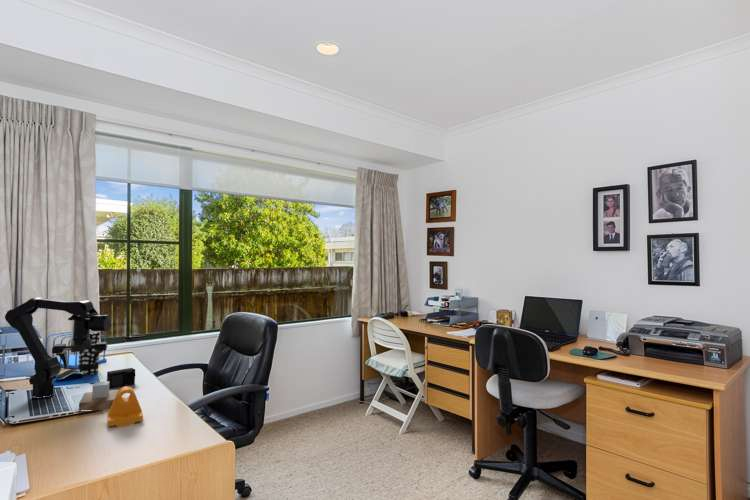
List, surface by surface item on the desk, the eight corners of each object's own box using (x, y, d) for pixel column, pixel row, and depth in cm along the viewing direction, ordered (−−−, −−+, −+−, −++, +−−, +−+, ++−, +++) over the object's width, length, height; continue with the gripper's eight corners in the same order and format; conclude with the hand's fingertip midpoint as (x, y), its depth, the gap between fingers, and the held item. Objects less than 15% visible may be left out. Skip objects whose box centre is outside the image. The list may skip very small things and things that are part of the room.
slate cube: (92, 398, 166) (92, 385, 166) (94, 394, 171) (95, 382, 171) (106, 397, 168) (107, 384, 168) (109, 393, 173) (109, 381, 173)
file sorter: (106, 362, 232) (108, 334, 232) (75, 369, 216) (76, 339, 216) (74, 357, 241) (75, 330, 241) (41, 364, 224) (43, 335, 224)
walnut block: (78, 413, 161) (79, 403, 161) (84, 402, 172) (84, 392, 172) (118, 409, 167) (118, 399, 167) (121, 398, 178) (121, 389, 178)
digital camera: (110, 389, 188) (111, 374, 188) (106, 386, 191) (107, 371, 191) (135, 385, 195) (136, 369, 195) (131, 382, 199) (132, 367, 199)
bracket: (107, 428, 147) (109, 394, 148) (107, 421, 153) (108, 388, 154) (142, 423, 153) (144, 389, 154) (140, 416, 159) (142, 384, 160)
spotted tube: (101, 372, 212) (103, 332, 212) (82, 376, 205) (84, 335, 205) (93, 369, 217) (95, 330, 217) (74, 373, 210) (76, 332, 210)
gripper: (49, 335, 166) (47, 375, 166) (105, 333, 175) (103, 371, 175) (55, 330, 176) (53, 368, 176) (108, 328, 185) (106, 364, 185)
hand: (79, 368), depth 178 cm, fingers open, 9 cm apart
